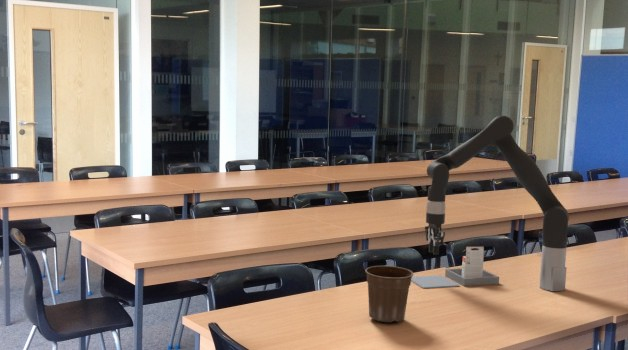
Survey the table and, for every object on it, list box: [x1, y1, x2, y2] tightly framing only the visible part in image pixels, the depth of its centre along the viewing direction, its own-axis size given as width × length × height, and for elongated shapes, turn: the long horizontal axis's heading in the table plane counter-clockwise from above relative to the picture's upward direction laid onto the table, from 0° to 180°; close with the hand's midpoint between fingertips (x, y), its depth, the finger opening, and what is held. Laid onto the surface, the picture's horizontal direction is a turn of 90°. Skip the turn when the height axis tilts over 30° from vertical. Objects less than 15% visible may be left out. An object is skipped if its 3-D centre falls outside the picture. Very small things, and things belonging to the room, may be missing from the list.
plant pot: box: [365, 265, 414, 323], centre depth 241 cm, size 16×16×16 cm
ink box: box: [461, 246, 485, 278], centre depth 293 cm, size 4×8×15 cm, turn 97°
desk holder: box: [444, 267, 500, 287], centre depth 294 cm, size 16×16×3 cm
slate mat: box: [411, 274, 460, 290], centre depth 289 cm, size 16×16×1 cm
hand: (433, 253), depth 288 cm, fingers open, 3 cm apart
